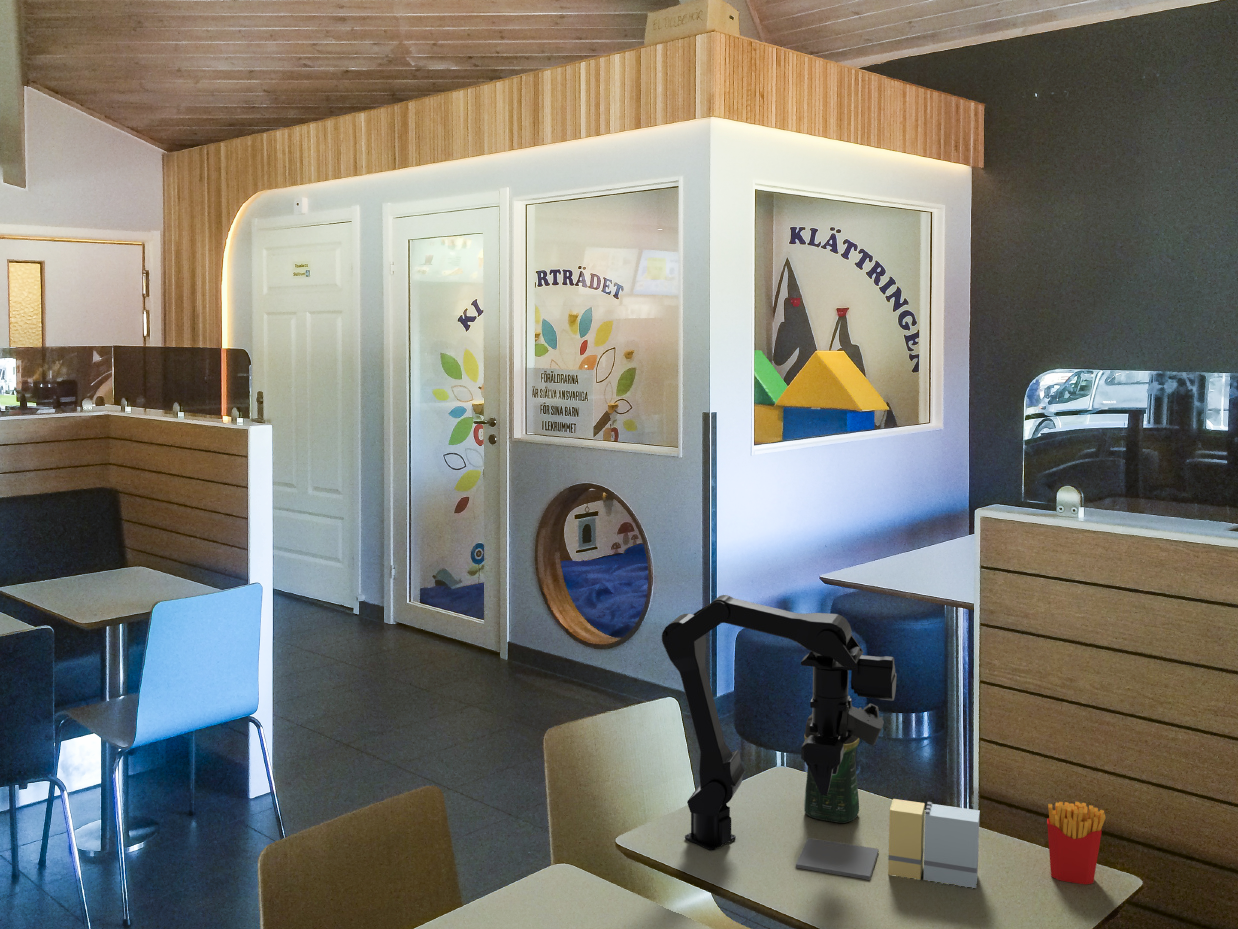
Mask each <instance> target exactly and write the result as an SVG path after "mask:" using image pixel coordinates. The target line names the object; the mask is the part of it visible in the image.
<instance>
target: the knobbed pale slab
mask: <svg viewBox="0 0 1238 929" xmlns="http://www.w3.org/2000/svg"><path fill="white" fill-rule="evenodd" d="M980 811H981V810H978V809H973V808H972V809H971V808H966V807H964V808H963V807H955V806H949V805H943V804H942V805H941V804H936V803H935V804H934V803H933V802H932V801H927V805H926V808H925V812H924V847H923V848H924V852H923V881H924V880H928V881H927V882H930V881H935V882H934V883H937V882H941V883H940V884H943V883H948V884H947V885H949V884H956V885H959V886H958V887H961V886H965V887H964V888H967V887H972V888H971V889H973V888H976V889H977V885H976V884H978V877H977V876H979V875H978V873H979V872H978V871H979V849H980V848H979V840H980V839H979V838H980V814H981V813H980Z"/></svg>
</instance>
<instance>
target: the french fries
mask: <svg viewBox="0 0 1238 929" xmlns="http://www.w3.org/2000/svg"><path fill="white" fill-rule="evenodd" d="M1074 802H1075V803H1069V802H1067V801H1058V802H1055V809H1053V804H1052V803H1048V804H1047V805H1048V806H1047V807H1048V815H1049V817H1048V818H1046V819H1047V821H1046V822H1047V824H1046V825H1047V841H1048V853H1049V867H1050V877H1052V878H1054V879H1055V880H1058V881H1061V882H1066V883H1067V882H1068V883H1073V884H1080V885H1091V884H1094V880H1095V874H1096V869H1097V863H1098V857H1099V852H1100V845H1101V838H1102V833H1103V832H1102V830H1103V829H1102V828H1103V825H1104V822H1105V820H1106V819H1107V818H1106V814H1105V810H1103V809H1100V810H1099V808H1098V807H1094V805H1090V804H1089V806H1087V803H1086V802H1082V803H1081V802H1079V801H1074Z"/></svg>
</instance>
